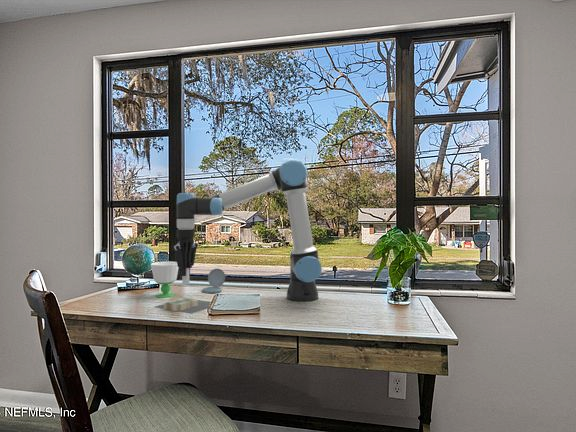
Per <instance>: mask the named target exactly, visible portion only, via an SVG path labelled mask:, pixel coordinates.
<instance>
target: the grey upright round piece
mask: <svg viewBox="0 0 576 432" xmlns="http://www.w3.org/2000/svg"><path fill="white" fill-rule="evenodd" d="M225 281H226V274H225V272H224V271H223V269H220V268H214V269H212V270H211V271H209V273H208V275H207V282H208V284H209V285H210V286H209V287H208V286H207V287H203V288H202V289H201V291H202V293H203V294H209V295H210V294H219V293H221V292H222V291H223V289H222V287H221V286H223V285H224V283H225Z"/></svg>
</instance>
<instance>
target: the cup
mask: <svg viewBox="0 0 576 432" xmlns="http://www.w3.org/2000/svg"><path fill="white" fill-rule="evenodd" d="M179 269H180V267H178V266H177V261H156V262H152V263H151V264H150V270H151V272H152V277H153V281H154V282H155V283H156V284H159V285H161V287H160V291H161V293H158V294H156V295H155V297H156V298H170V297H174V296H175V295H176V294H175V293H172V292H170V291H171V286H170V284H173V283H174V282H176V281H177V279H178V273H179Z"/></svg>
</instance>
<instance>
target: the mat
mask: <svg viewBox="0 0 576 432" xmlns="http://www.w3.org/2000/svg"><path fill="white" fill-rule="evenodd" d="M197 300H198V306H195V307H192V308H188V309H185V310H182V311H178V312H179V313H186V314H192V315H193V314H195V313H198V312H201V311H204V310H208V309H210V308H209V305H210V303H211V302H212V301H207V300H201V299H197ZM154 308H156V309H162V310H163V309H164V303H163V304H159V305H156V306H154ZM164 310H165V309H164Z"/></svg>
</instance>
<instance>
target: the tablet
mask: <svg viewBox="0 0 576 432" xmlns="http://www.w3.org/2000/svg"><path fill="white" fill-rule="evenodd" d="M198 300H199V299H197V298H190V297H181V298H178V299H174V300H169V301H167V302H164V303H163V304H164V310H167V311H172V312H179V311H182V310H185V309H188V308H192V307H195V306H198Z"/></svg>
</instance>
